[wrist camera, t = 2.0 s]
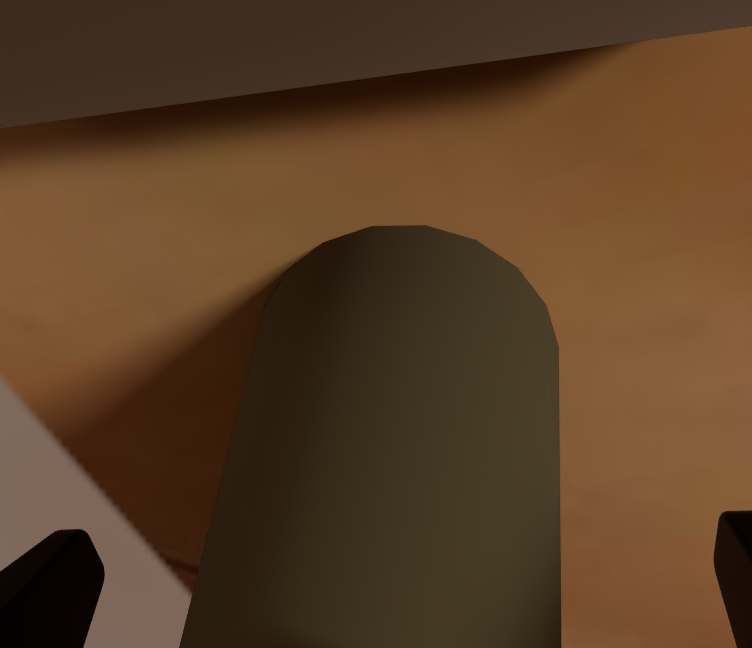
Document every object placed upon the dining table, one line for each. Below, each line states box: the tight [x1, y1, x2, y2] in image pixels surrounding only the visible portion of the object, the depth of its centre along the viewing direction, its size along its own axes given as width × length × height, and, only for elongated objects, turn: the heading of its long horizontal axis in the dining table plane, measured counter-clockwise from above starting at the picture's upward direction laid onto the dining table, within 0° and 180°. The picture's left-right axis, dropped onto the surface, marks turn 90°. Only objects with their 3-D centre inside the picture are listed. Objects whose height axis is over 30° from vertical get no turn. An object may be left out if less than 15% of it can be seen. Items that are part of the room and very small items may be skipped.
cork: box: [179, 225, 561, 648], centre depth 8 cm, size 6×6×11 cm
